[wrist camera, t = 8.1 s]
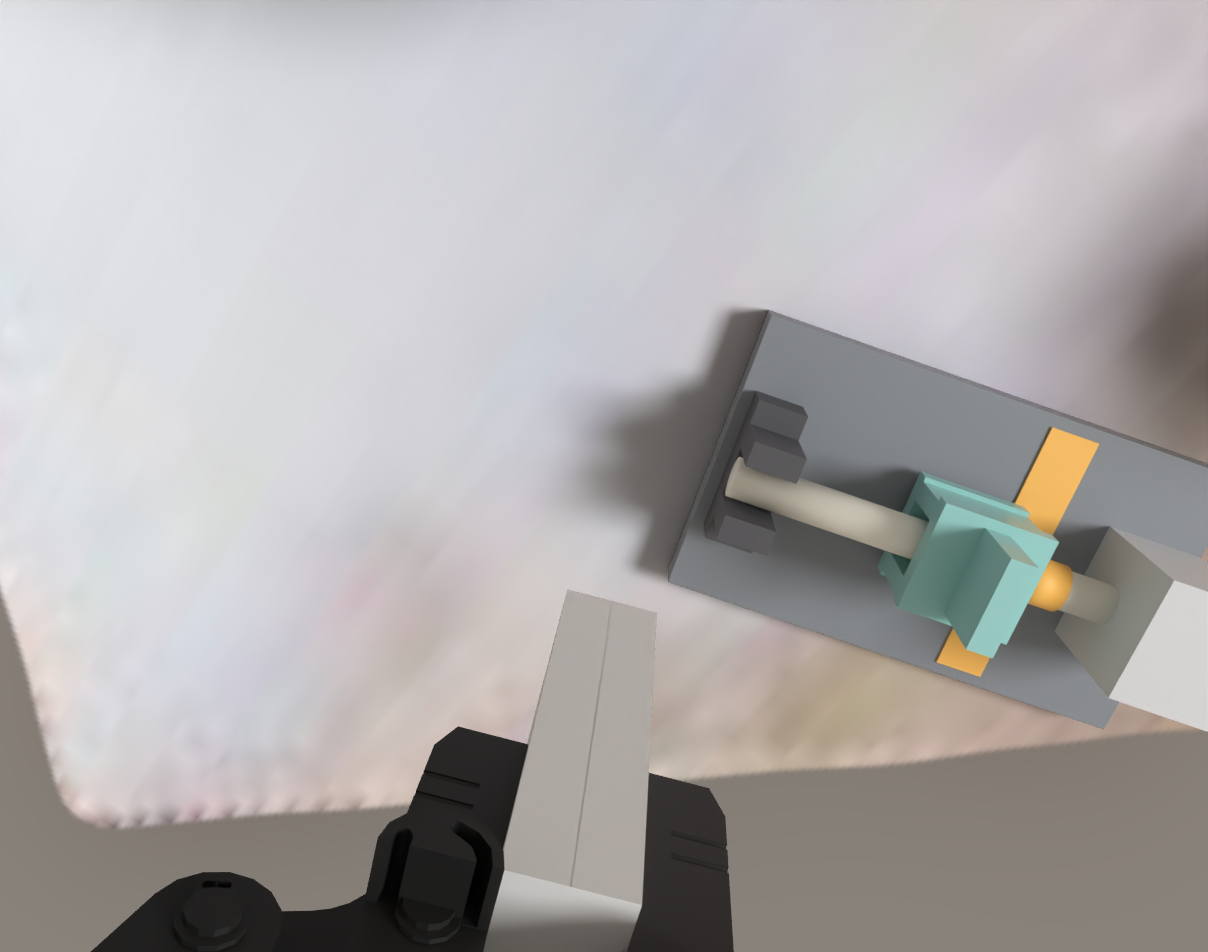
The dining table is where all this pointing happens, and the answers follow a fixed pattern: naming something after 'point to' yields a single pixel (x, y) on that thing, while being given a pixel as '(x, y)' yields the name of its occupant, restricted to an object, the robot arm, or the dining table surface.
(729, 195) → the dining table surface
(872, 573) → the cable board
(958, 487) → the sleeve
